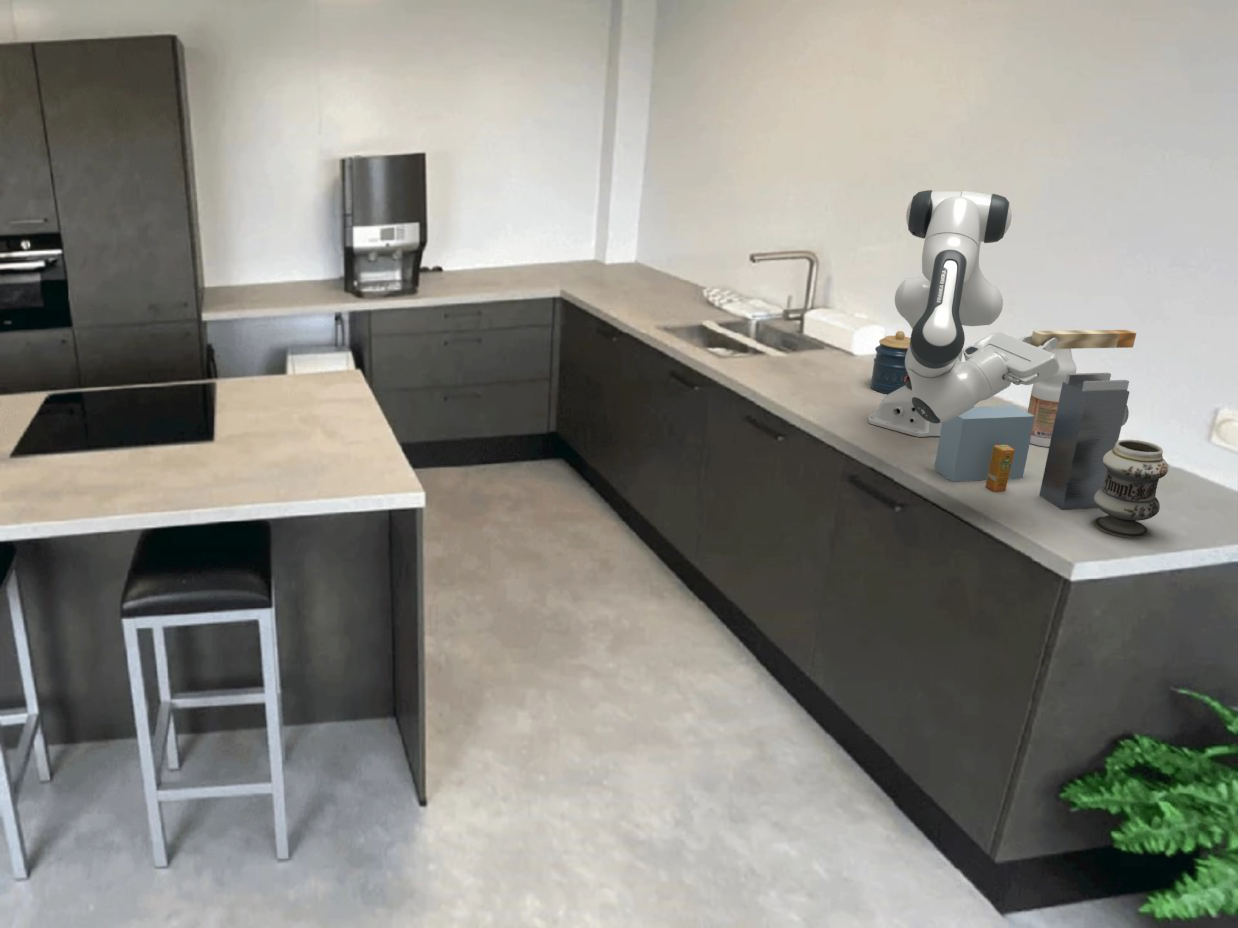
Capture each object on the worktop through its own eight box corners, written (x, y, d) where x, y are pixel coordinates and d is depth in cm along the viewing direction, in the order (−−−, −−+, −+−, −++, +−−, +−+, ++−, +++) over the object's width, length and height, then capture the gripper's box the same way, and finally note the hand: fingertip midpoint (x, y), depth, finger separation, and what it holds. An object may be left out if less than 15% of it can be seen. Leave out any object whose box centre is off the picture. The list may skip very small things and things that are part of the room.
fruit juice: (1014, 437, 255) (1034, 330, 245) (1043, 434, 258) (1064, 329, 249) (1040, 449, 247) (1062, 339, 237) (1069, 446, 250) (1092, 338, 240)
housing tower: (1062, 509, 211) (1089, 383, 201) (1039, 495, 218) (1064, 372, 208) (1110, 506, 213) (1140, 382, 203) (1086, 492, 221) (1113, 371, 211)
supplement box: (994, 492, 219) (1002, 449, 215) (984, 486, 222) (992, 444, 218) (1007, 491, 219) (1015, 449, 216) (997, 485, 223) (1005, 443, 219)
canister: (907, 398, 284) (916, 338, 278) (864, 390, 291) (871, 331, 284) (920, 388, 295) (929, 330, 289) (877, 380, 301) (885, 324, 295)
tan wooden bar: (1039, 349, 198) (1042, 334, 197) (1030, 345, 201) (1032, 331, 200) (1133, 347, 203) (1136, 333, 202) (1123, 344, 206) (1126, 329, 205)
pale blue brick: (952, 481, 224) (963, 419, 218) (934, 469, 231) (944, 408, 225) (1022, 478, 227) (1035, 416, 222) (1002, 465, 235) (1014, 405, 229)
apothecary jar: (1113, 512, 211) (1132, 432, 204) (1166, 534, 201) (1187, 451, 194) (1075, 521, 205) (1094, 439, 199) (1127, 544, 195) (1148, 459, 189)
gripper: (1016, 373, 188) (1078, 336, 188) (958, 346, 207) (1014, 313, 207) (1025, 400, 191) (1086, 364, 191) (967, 371, 209) (1023, 339, 210)
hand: (1048, 337), depth 199 cm, fingers closed on tan wooden bar, 3 cm apart
